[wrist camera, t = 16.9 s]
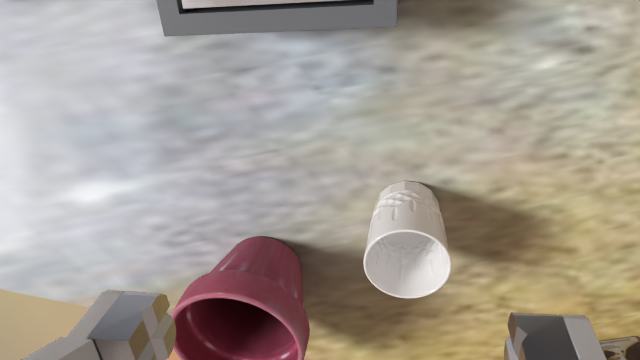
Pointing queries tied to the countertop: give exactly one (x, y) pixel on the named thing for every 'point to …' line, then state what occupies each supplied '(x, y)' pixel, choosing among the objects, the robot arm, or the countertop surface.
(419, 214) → the white cup
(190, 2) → the pan
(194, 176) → the countertop surface
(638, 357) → the coffee box
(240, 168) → the countertop surface
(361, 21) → the scale housing
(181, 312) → the plant pot
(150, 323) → the robot arm
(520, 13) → the countertop surface
